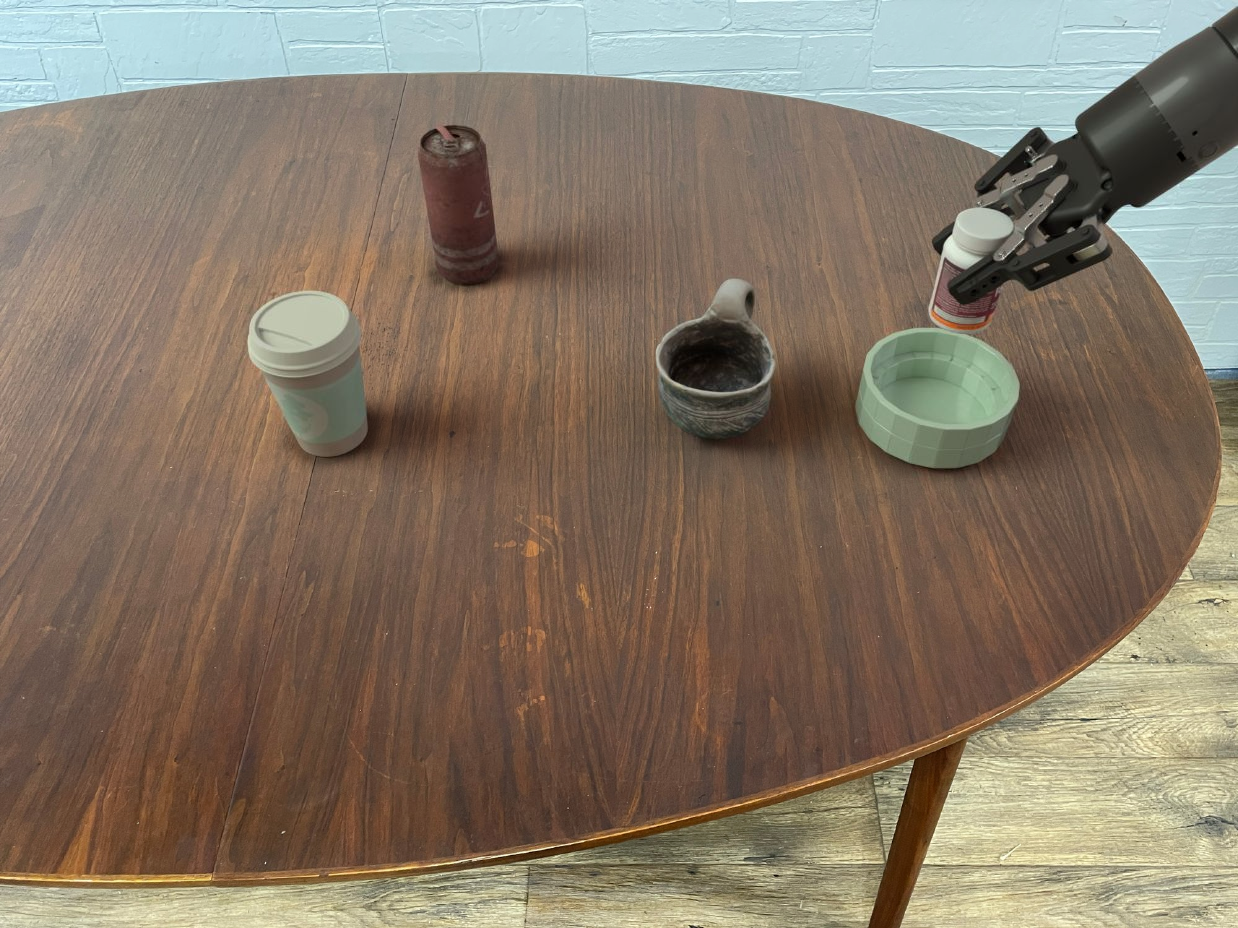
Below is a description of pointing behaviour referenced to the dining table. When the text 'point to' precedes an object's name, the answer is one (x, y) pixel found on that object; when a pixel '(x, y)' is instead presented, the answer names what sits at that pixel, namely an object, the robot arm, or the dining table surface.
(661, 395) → the mug
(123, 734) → the dining table surface
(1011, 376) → the bowl
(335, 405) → the coffee cup
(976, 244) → the pill bottle
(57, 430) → the dining table surface
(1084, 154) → the robot arm
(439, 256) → the can
